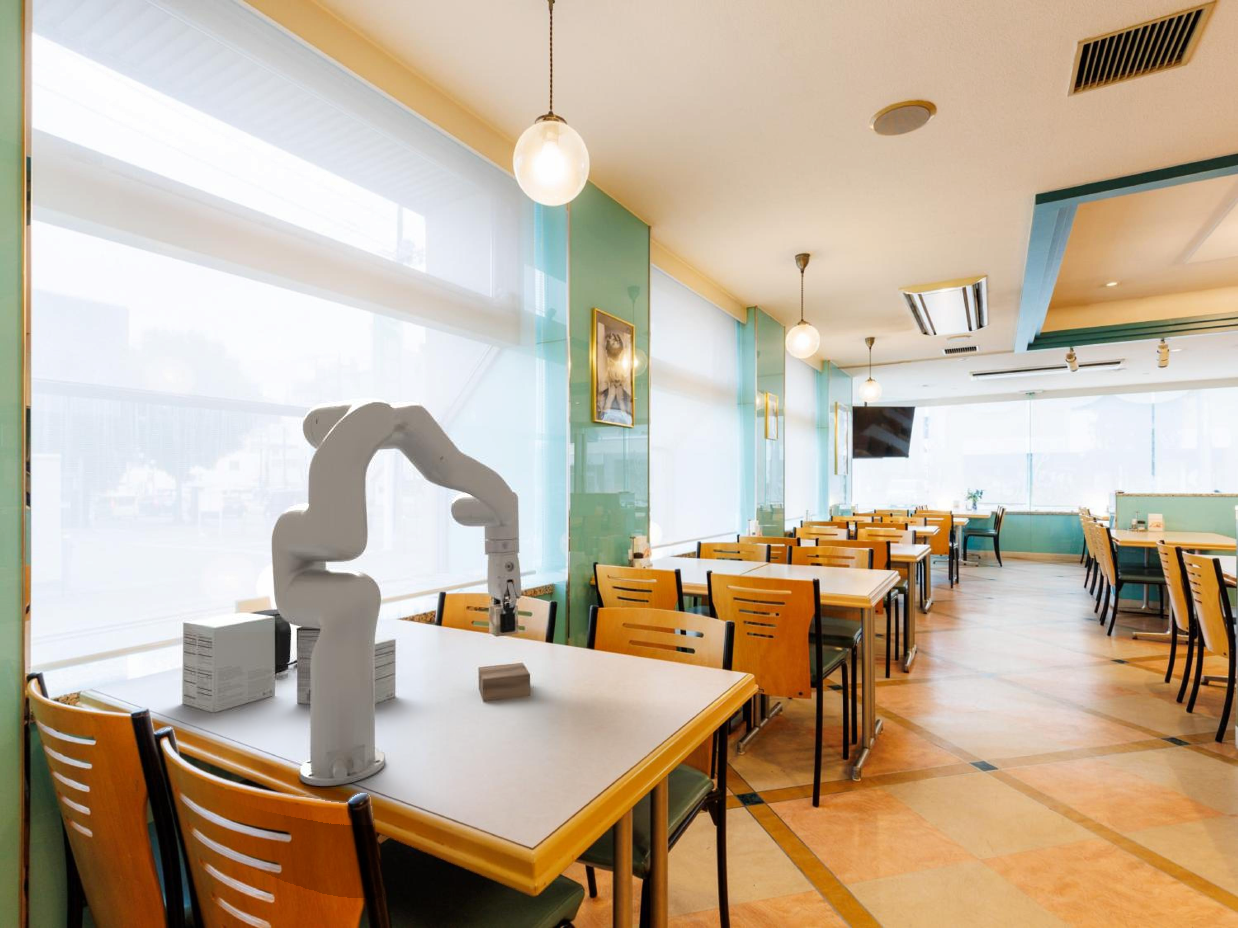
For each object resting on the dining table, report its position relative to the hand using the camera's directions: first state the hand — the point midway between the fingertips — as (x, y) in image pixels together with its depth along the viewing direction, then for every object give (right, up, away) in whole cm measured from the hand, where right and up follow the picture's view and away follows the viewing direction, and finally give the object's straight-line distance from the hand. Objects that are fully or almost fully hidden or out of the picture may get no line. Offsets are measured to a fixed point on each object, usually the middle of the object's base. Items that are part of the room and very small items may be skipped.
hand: (503, 628), depth 142 cm
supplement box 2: (-28, -15, -4) cm, 32 cm away
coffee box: (-39, -15, -2) cm, 42 cm away
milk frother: (-61, -17, +24) cm, 68 cm away
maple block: (0, -1, 0) cm, 1 cm away
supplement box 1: (-60, -15, -2) cm, 62 cm away
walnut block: (0, -14, -1) cm, 14 cm away
